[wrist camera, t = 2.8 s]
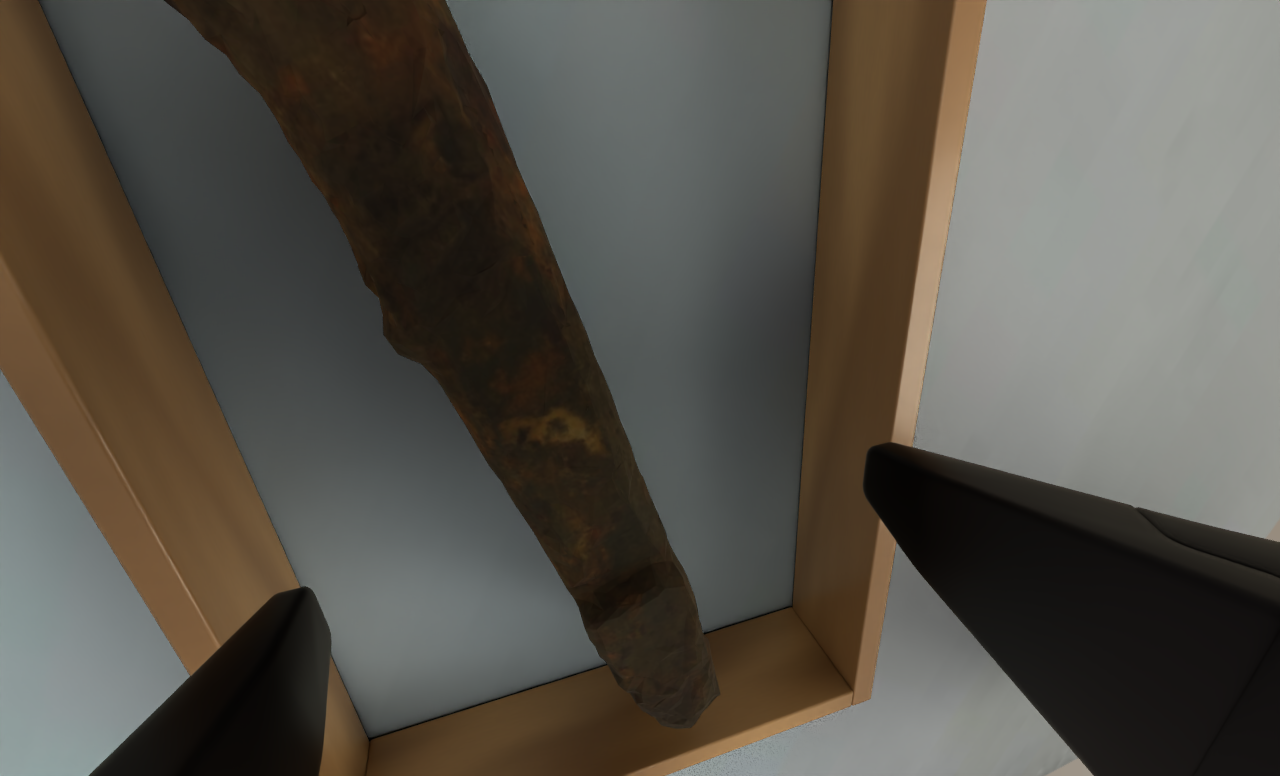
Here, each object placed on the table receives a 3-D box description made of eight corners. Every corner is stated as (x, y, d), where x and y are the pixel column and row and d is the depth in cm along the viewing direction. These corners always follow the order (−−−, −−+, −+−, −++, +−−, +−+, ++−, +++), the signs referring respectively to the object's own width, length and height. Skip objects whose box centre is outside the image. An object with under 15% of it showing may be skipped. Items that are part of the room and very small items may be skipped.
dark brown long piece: (193, -31, 9) (-15, -161, 5) (427, -96, 10) (406, -262, 6) (577, 658, 18) (612, 808, 14) (688, 605, 19) (752, 736, 15)
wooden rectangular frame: (876, -201, 11) (1043, -335, 8) (807, 614, 21) (871, 699, 18) (-149, -280, 7) (-605, -596, 4) (351, 761, 17) (328, 902, 14)
